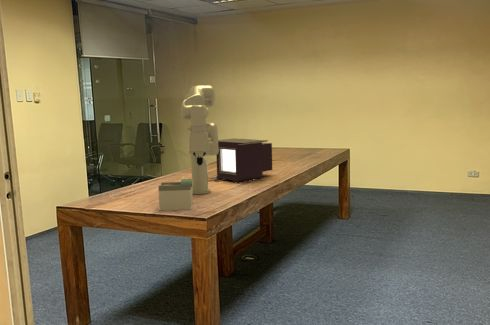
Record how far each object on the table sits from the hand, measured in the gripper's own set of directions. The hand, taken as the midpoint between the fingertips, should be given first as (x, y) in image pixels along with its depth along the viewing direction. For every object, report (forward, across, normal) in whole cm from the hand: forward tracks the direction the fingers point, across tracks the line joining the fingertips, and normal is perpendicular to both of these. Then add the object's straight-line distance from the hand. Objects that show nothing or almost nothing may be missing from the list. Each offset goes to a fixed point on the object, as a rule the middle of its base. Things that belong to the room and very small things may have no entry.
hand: (200, 165), depth 236 cm
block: (+22, -13, +1) cm, 26 cm away
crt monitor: (+21, +26, +86) cm, 92 cm away
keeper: (+9, -8, 0) cm, 12 cm away
